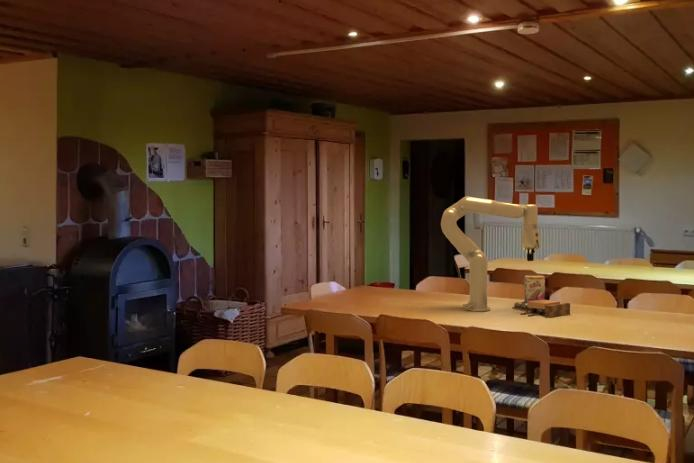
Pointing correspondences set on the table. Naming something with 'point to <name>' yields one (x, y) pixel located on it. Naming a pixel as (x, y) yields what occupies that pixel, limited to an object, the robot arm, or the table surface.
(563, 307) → the rail
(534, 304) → the slab
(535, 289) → the candy bar box
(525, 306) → the roller track
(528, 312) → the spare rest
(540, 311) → the roller
